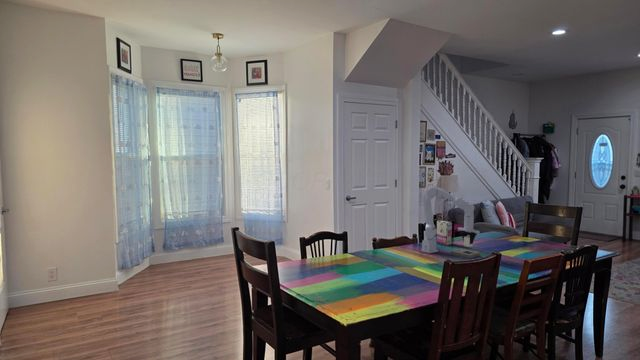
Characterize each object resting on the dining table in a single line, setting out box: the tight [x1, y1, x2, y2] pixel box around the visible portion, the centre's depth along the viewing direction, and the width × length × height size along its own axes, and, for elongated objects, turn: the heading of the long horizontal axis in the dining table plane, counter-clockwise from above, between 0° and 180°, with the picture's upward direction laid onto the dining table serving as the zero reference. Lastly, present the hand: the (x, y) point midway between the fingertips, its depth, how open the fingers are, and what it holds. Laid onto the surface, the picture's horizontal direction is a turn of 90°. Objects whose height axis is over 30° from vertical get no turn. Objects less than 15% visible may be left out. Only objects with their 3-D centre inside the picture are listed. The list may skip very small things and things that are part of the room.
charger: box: [463, 235, 474, 248], centre depth 269 cm, size 4×4×6 cm
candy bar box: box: [436, 219, 453, 246], centre depth 302 cm, size 11×5×16 cm, turn 25°
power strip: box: [450, 248, 481, 259], centre depth 271 cm, size 12×14×2 cm
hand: (468, 243), depth 269 cm, fingers closed on charger, 4 cm apart
